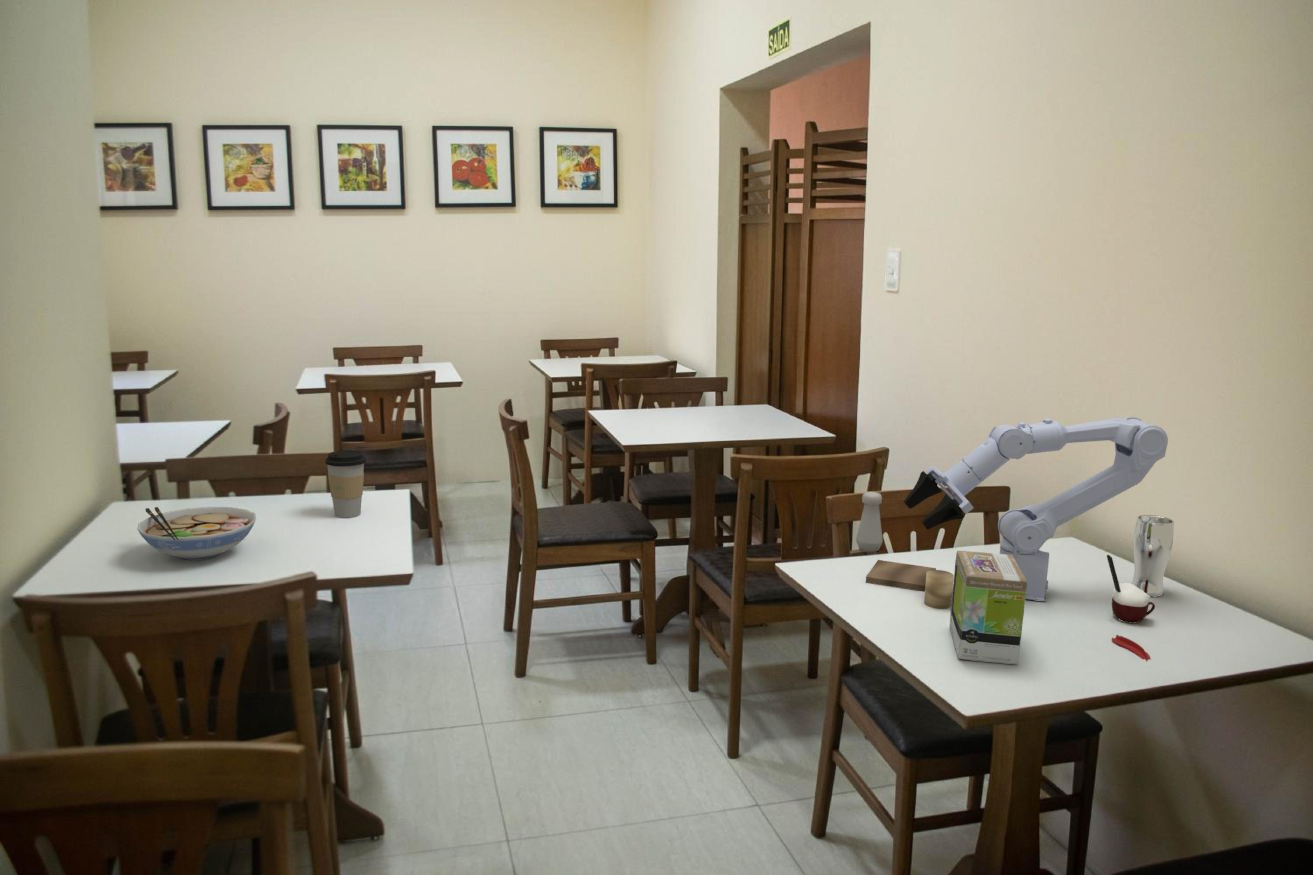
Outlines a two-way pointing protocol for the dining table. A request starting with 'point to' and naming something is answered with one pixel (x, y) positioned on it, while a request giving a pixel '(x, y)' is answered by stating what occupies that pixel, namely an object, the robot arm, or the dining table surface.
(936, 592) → the oak cylinder
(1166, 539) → the beer glass
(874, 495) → the salt shaker
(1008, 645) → the tea box
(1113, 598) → the cocoa
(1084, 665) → the dining table surface
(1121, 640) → the cayenne pepper
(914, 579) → the walnut board
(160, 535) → the ramen bowl
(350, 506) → the coffee cup
